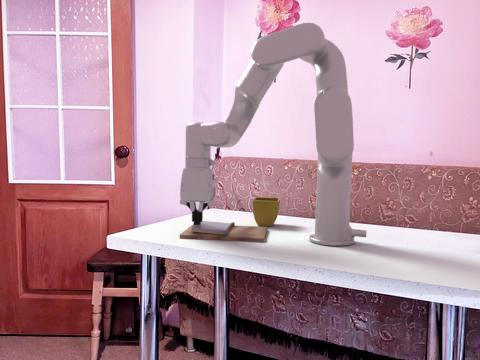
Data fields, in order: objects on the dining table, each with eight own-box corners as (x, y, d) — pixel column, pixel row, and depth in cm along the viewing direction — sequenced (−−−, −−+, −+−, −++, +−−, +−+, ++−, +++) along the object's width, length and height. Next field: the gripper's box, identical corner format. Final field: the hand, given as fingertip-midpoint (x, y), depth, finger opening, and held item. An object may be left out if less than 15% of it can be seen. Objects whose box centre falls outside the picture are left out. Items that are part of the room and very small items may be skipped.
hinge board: (267, 230, 140) (267, 223, 139) (263, 242, 122) (263, 234, 122) (193, 226, 142) (193, 220, 142) (179, 238, 125) (179, 230, 124)
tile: (200, 220, 139) (199, 224, 139) (191, 227, 127) (191, 231, 127) (231, 223, 138) (230, 227, 138) (225, 230, 126) (225, 234, 126)
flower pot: (277, 228, 144) (278, 200, 143) (251, 226, 145) (252, 199, 144) (279, 223, 152) (280, 197, 152) (254, 222, 154) (255, 196, 153)
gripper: (224, 164, 134) (223, 223, 136) (176, 162, 136) (176, 221, 137) (220, 165, 127) (219, 227, 128) (170, 163, 129) (169, 225, 130)
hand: (197, 224), depth 133 cm, fingers closed
